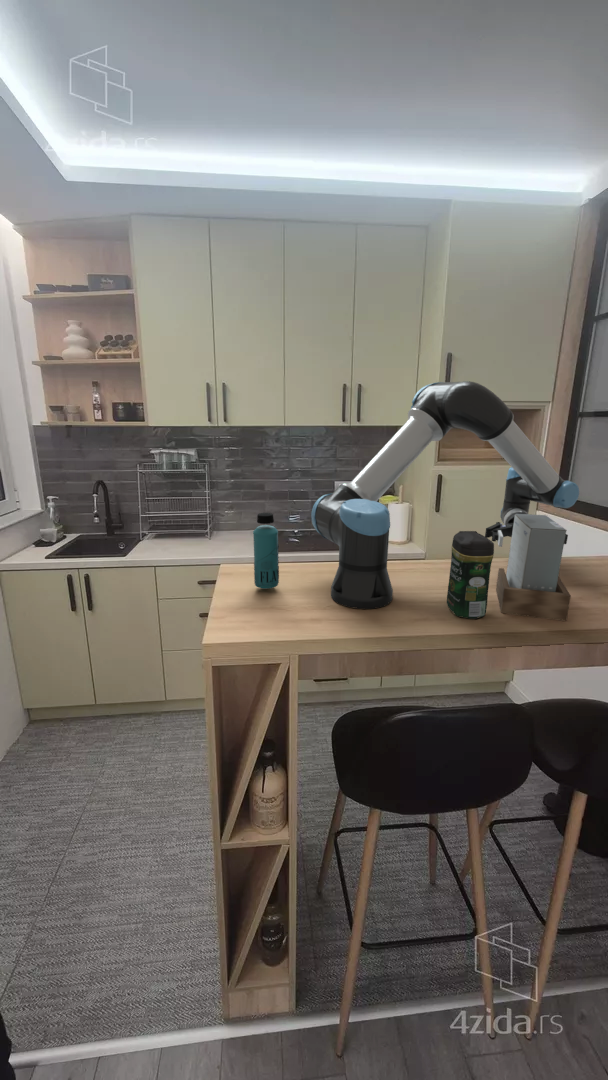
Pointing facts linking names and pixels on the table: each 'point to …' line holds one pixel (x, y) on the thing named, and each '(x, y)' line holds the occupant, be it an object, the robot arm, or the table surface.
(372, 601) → the robot arm
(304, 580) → the table surface
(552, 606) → the walnut crate
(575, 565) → the table surface
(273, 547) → the beverage bottle
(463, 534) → the coffee jar
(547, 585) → the hard drive box
